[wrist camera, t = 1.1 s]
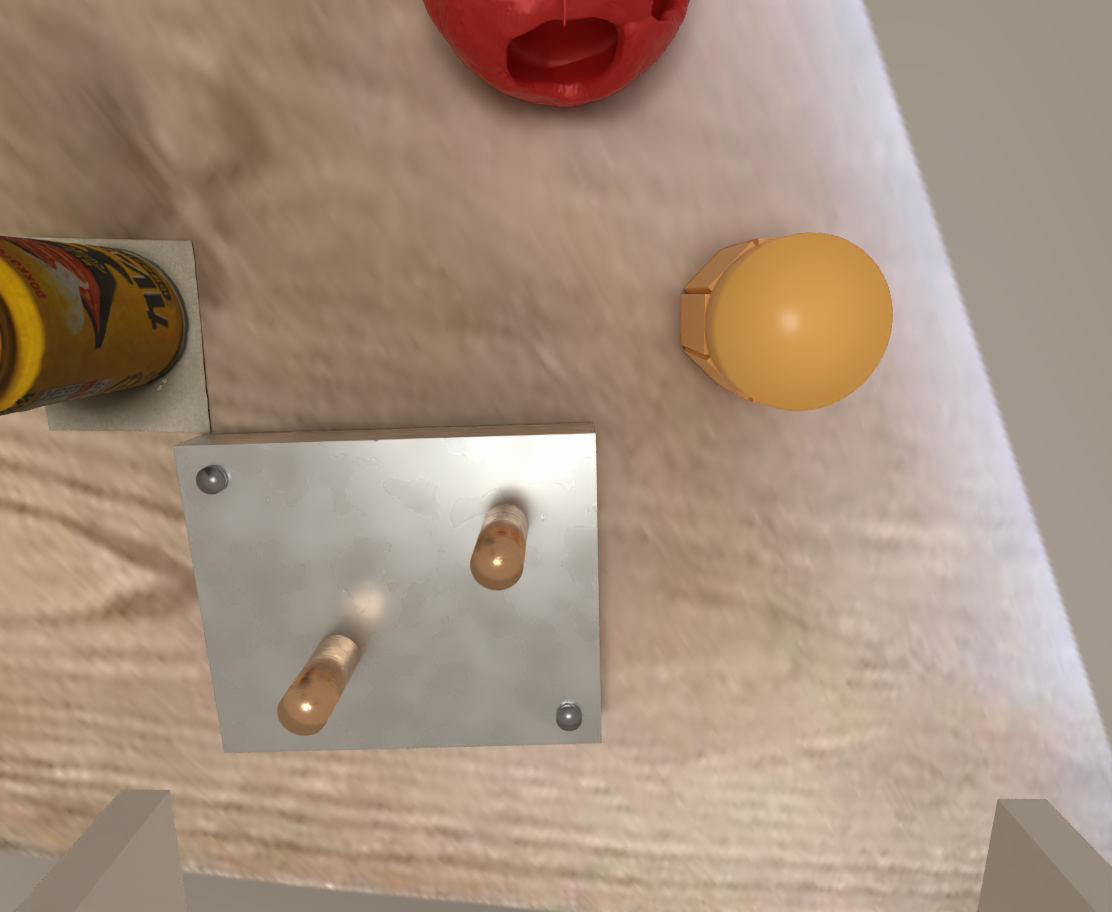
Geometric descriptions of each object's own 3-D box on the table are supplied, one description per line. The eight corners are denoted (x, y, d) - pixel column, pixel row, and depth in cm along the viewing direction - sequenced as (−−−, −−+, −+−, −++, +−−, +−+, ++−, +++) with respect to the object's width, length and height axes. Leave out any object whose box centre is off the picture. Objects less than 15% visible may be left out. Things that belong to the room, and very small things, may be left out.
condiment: (193, 240, 30) (-45, 206, 18) (212, 432, 32) (9, 513, 20) (25, 237, 30) (-323, 200, 18) (54, 428, 32) (-242, 508, 20)
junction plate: (202, 434, 31) (104, 473, 25) (592, 422, 31) (602, 458, 24) (247, 721, 35) (172, 824, 28) (598, 711, 35) (608, 813, 28)
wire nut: (681, 248, 29) (718, 235, 23) (821, 244, 29) (899, 229, 23) (680, 387, 31) (714, 413, 24) (813, 382, 31) (885, 408, 24)
